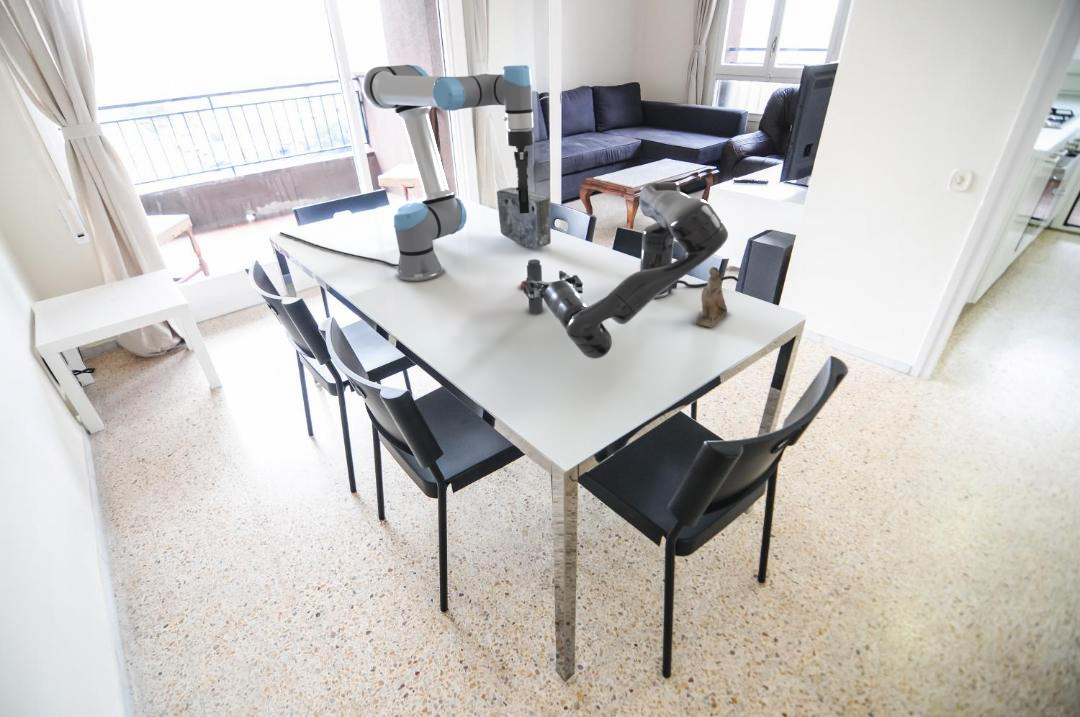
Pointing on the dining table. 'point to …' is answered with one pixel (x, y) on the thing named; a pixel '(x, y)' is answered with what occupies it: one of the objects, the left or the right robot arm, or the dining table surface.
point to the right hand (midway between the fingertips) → (544, 276)
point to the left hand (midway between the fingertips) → (523, 206)
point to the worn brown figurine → (712, 301)
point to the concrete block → (525, 218)
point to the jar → (536, 273)
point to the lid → (522, 284)
